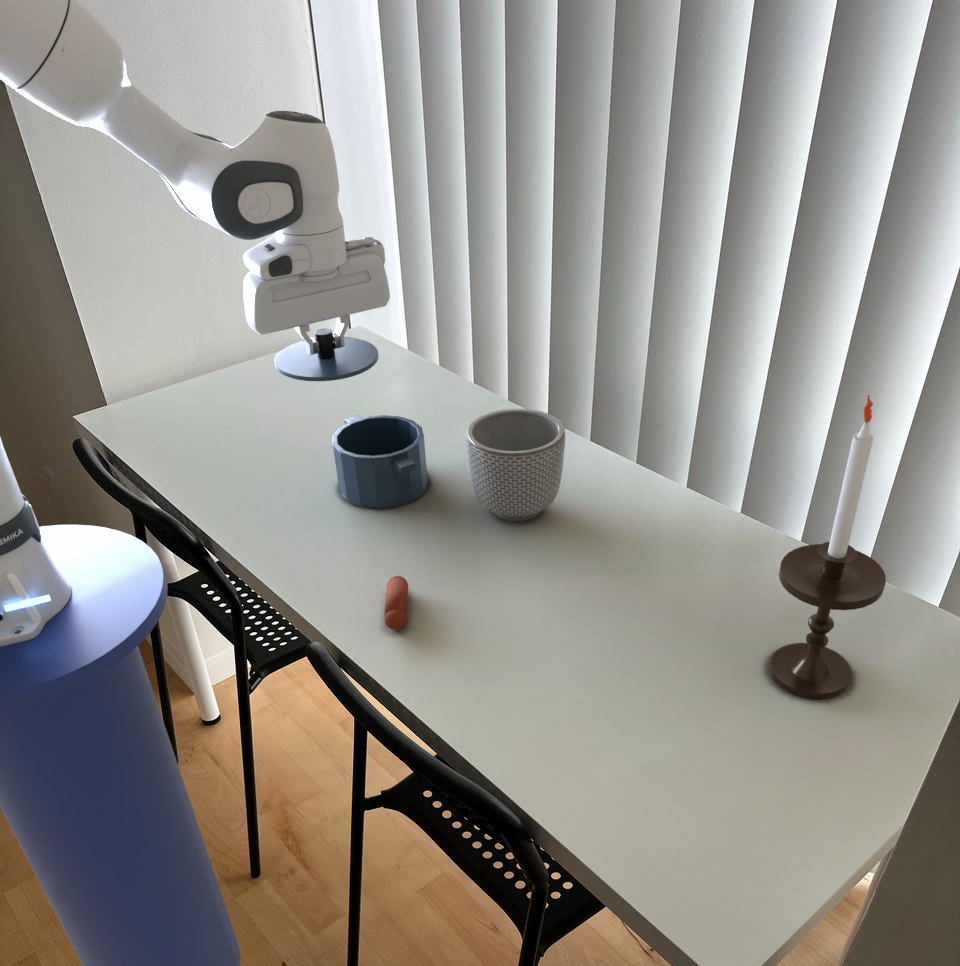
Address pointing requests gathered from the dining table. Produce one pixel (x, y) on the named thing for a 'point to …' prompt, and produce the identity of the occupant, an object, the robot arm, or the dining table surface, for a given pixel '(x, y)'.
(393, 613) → the sausage
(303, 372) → the lid
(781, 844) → the dining table surface
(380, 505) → the pot
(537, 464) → the planter
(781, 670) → the candlestick
